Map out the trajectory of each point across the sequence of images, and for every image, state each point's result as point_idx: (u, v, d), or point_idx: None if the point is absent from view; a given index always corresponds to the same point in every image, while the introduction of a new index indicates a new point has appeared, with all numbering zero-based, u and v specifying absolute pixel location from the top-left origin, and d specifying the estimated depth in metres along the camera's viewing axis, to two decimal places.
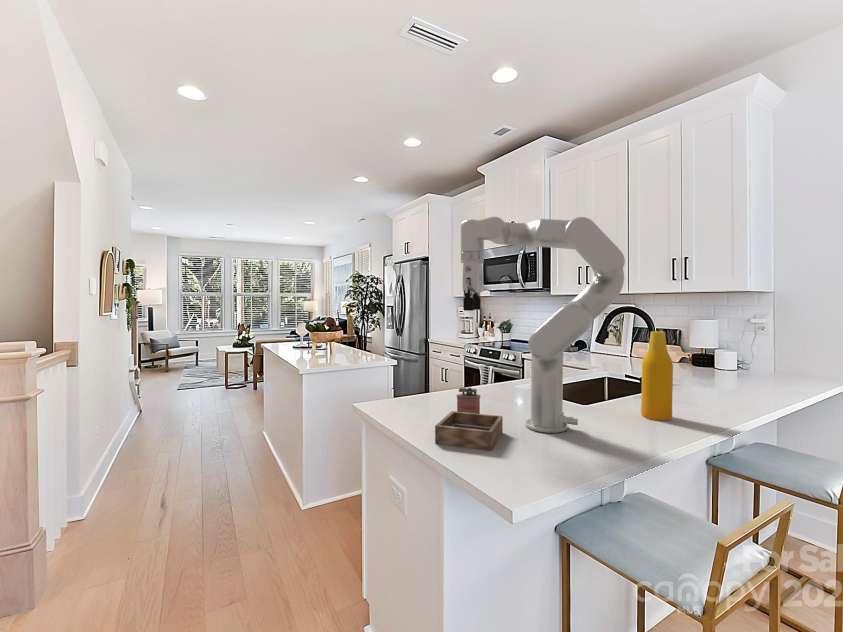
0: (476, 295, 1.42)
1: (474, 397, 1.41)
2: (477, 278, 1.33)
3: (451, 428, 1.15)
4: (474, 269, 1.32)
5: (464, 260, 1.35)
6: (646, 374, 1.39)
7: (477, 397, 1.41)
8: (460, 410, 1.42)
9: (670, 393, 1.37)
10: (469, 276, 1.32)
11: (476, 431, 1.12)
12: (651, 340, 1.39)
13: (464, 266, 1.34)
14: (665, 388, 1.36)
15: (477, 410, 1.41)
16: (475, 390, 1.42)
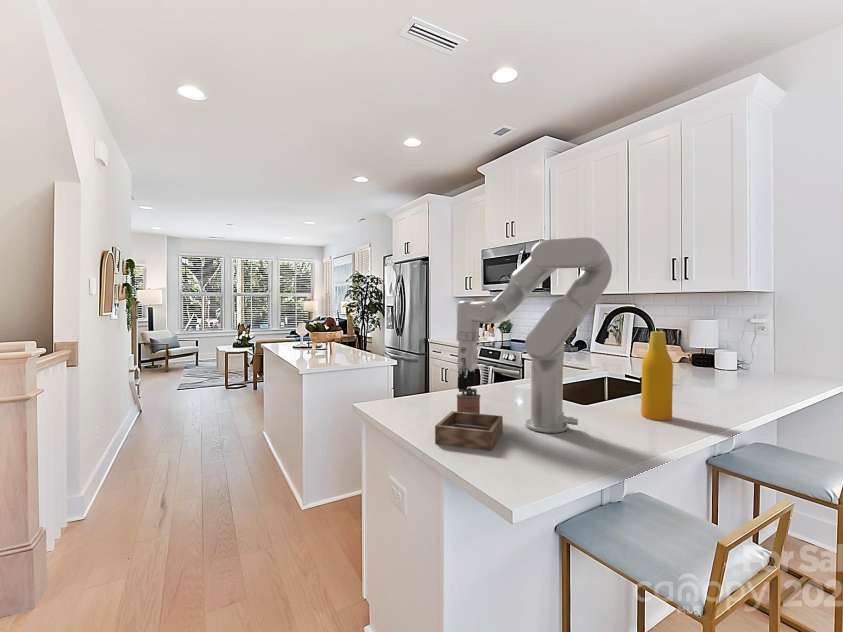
0: None
1: (474, 397, 1.41)
2: (472, 358, 1.38)
3: (451, 428, 1.15)
4: (469, 350, 1.37)
5: (460, 340, 1.39)
6: (646, 374, 1.39)
7: (477, 397, 1.41)
8: (460, 410, 1.42)
9: (670, 393, 1.37)
10: (464, 356, 1.37)
11: (476, 431, 1.12)
12: (651, 340, 1.39)
13: (459, 346, 1.38)
14: (665, 388, 1.36)
15: (477, 410, 1.41)
16: (475, 390, 1.42)
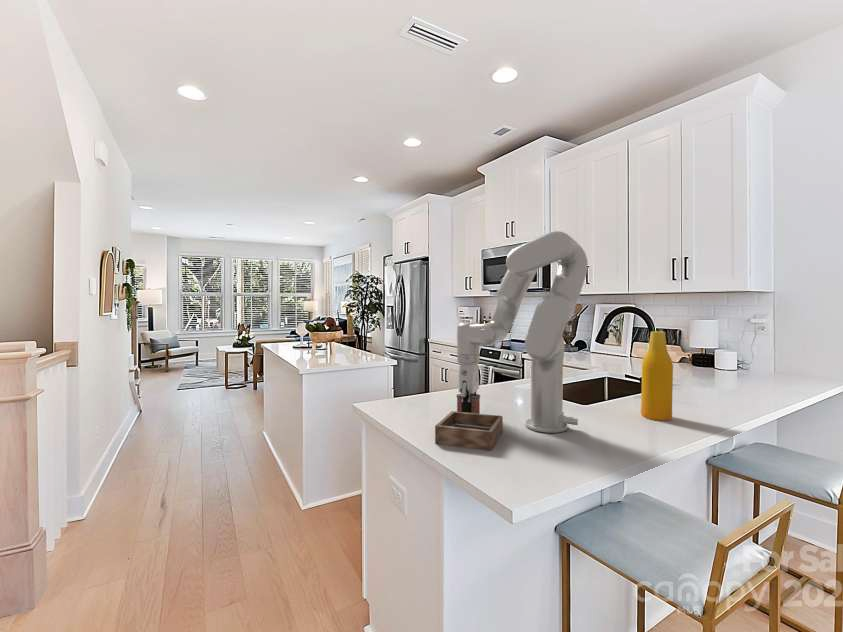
0: None
1: (474, 397, 1.41)
2: (473, 380, 1.38)
3: (451, 428, 1.15)
4: (470, 373, 1.37)
5: (460, 362, 1.40)
6: (646, 374, 1.39)
7: (477, 397, 1.41)
8: (460, 410, 1.42)
9: (670, 393, 1.37)
10: (465, 379, 1.38)
11: (476, 431, 1.12)
12: (651, 340, 1.39)
13: (460, 369, 1.39)
14: (665, 388, 1.36)
15: (477, 410, 1.41)
16: None
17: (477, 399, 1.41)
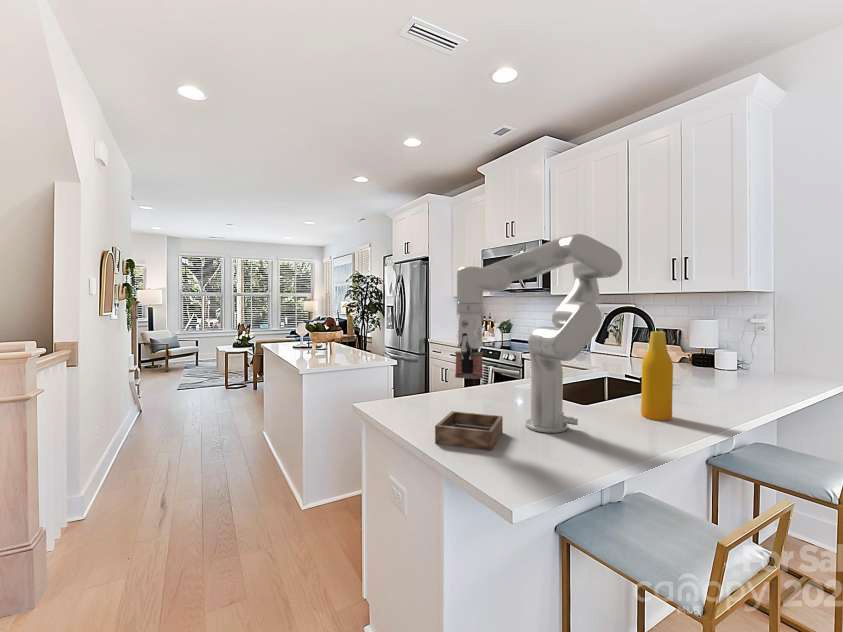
0: None
1: (475, 354, 1.20)
2: (475, 334, 1.17)
3: (451, 428, 1.15)
4: (471, 324, 1.16)
5: (460, 313, 1.19)
6: (646, 374, 1.39)
7: (479, 354, 1.20)
8: (459, 369, 1.21)
9: (670, 393, 1.37)
10: (466, 332, 1.16)
11: (476, 431, 1.12)
12: (651, 340, 1.39)
13: (460, 320, 1.18)
14: (665, 388, 1.36)
15: (479, 369, 1.20)
16: None
17: (479, 357, 1.20)
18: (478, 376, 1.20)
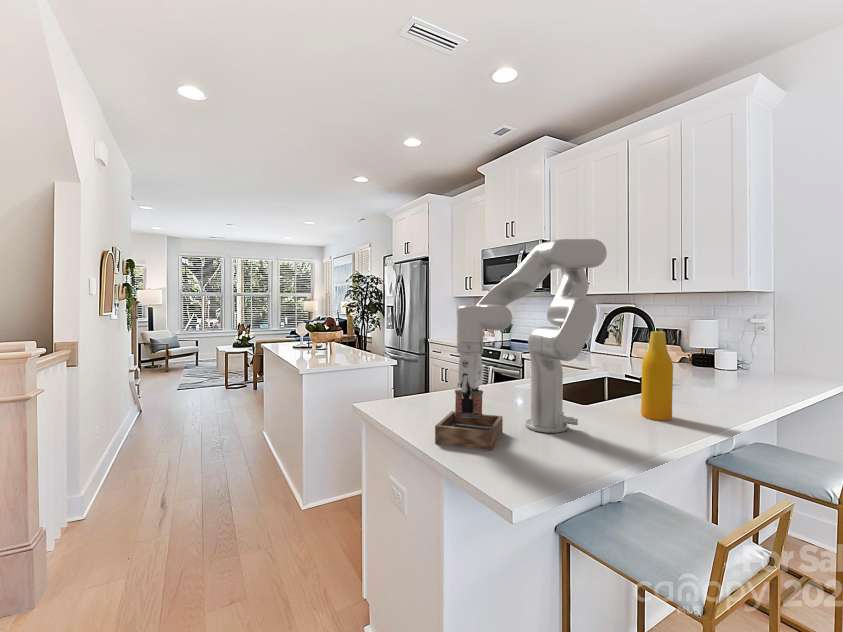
0: None
1: (475, 393, 1.19)
2: (476, 373, 1.16)
3: (451, 428, 1.15)
4: (472, 364, 1.15)
5: (461, 352, 1.18)
6: (646, 374, 1.39)
7: (479, 393, 1.19)
8: (459, 408, 1.20)
9: (670, 393, 1.37)
10: (466, 372, 1.15)
11: (476, 431, 1.12)
12: (651, 340, 1.39)
13: (460, 359, 1.17)
14: (665, 388, 1.36)
15: (479, 409, 1.19)
16: None
17: (479, 396, 1.19)
18: (478, 416, 1.19)
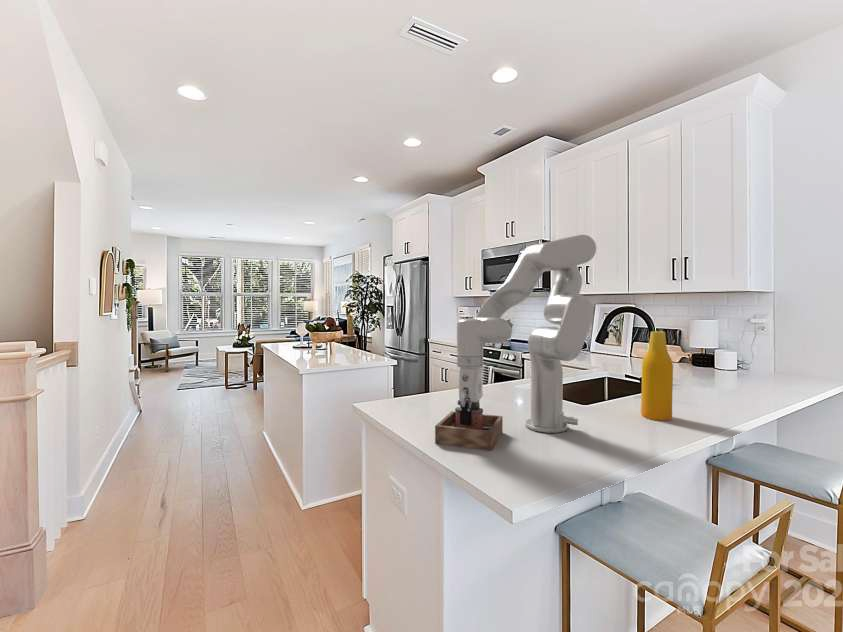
0: None
1: (475, 412, 1.19)
2: (476, 387, 1.16)
3: (451, 428, 1.15)
4: (472, 378, 1.15)
5: (461, 366, 1.18)
6: (646, 374, 1.39)
7: (479, 412, 1.19)
8: (459, 426, 1.20)
9: (670, 393, 1.37)
10: (466, 386, 1.16)
11: (476, 431, 1.12)
12: (651, 340, 1.39)
13: (461, 373, 1.17)
14: (665, 388, 1.36)
15: (479, 427, 1.19)
16: (477, 403, 1.19)
17: (479, 414, 1.19)
18: None
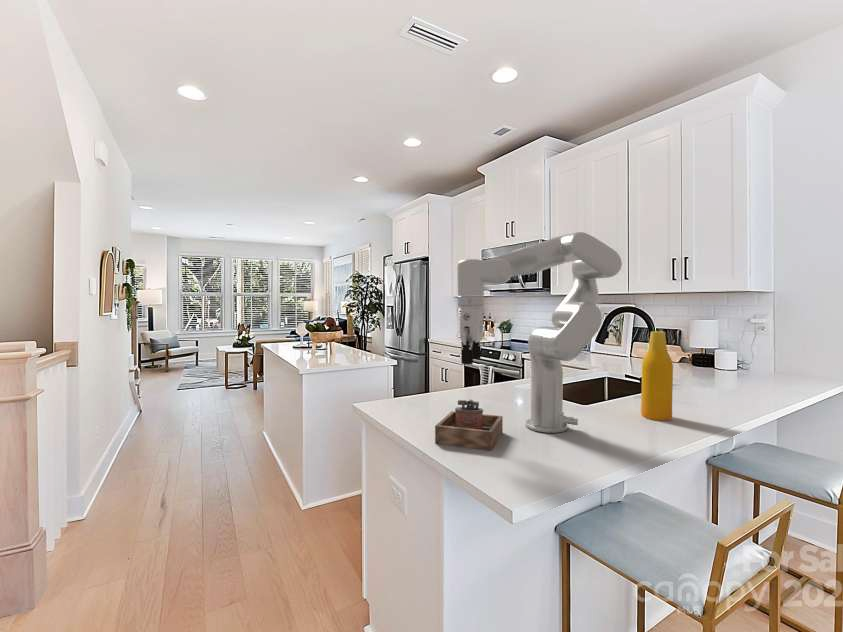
0: (475, 342, 1.25)
1: (475, 412, 1.19)
2: (477, 326, 1.16)
3: (451, 428, 1.15)
4: (473, 317, 1.15)
5: (462, 306, 1.18)
6: (646, 374, 1.39)
7: (479, 412, 1.19)
8: (459, 426, 1.20)
9: (670, 393, 1.37)
10: (468, 325, 1.16)
11: (476, 431, 1.12)
12: (651, 340, 1.39)
13: (462, 313, 1.17)
14: (665, 388, 1.36)
15: (479, 427, 1.19)
16: (477, 403, 1.19)
17: (479, 414, 1.19)
18: None
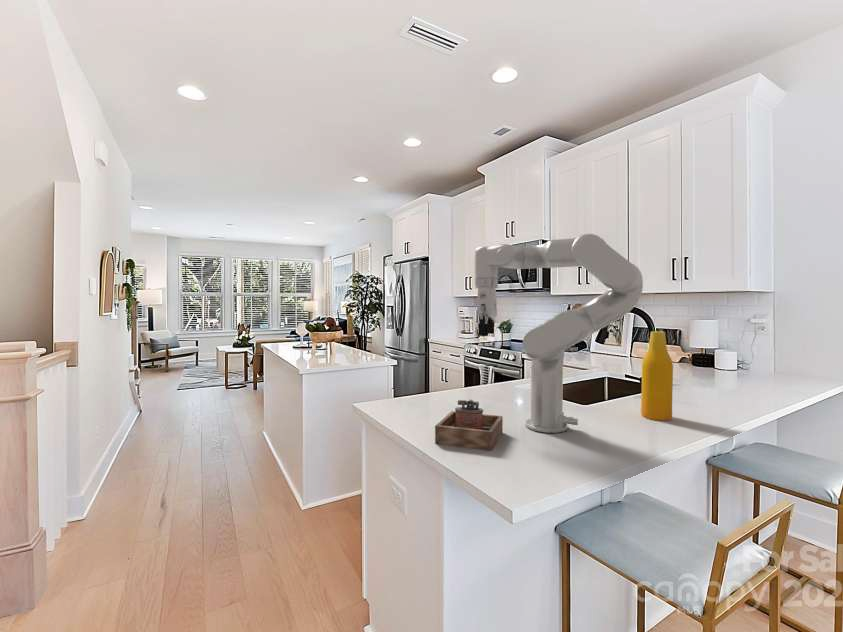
0: (490, 319, 1.45)
1: (475, 412, 1.19)
2: (492, 304, 1.36)
3: (451, 428, 1.15)
4: (489, 295, 1.35)
5: (479, 286, 1.37)
6: (646, 374, 1.39)
7: (479, 412, 1.19)
8: (459, 426, 1.20)
9: (670, 393, 1.37)
10: (484, 302, 1.35)
11: (476, 431, 1.12)
12: (651, 340, 1.39)
13: (479, 292, 1.36)
14: (665, 388, 1.36)
15: (479, 427, 1.19)
16: (477, 403, 1.19)
17: (479, 414, 1.19)
18: None
